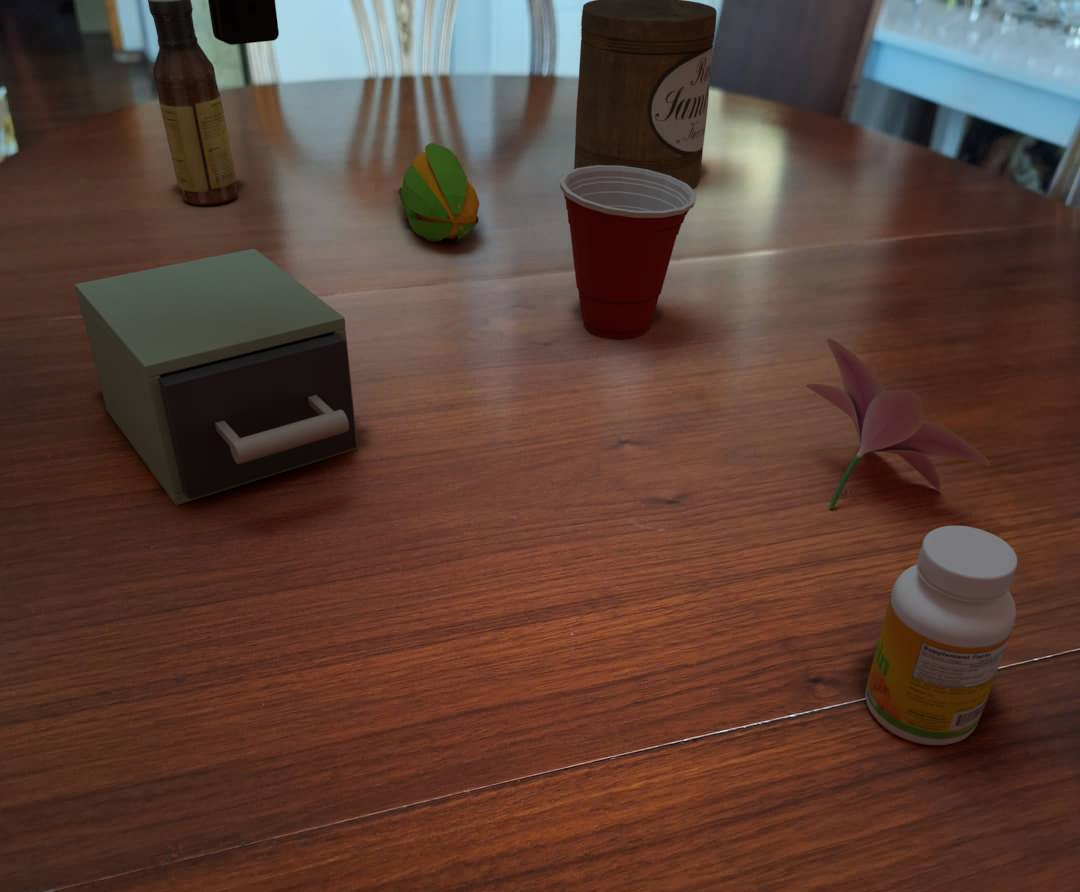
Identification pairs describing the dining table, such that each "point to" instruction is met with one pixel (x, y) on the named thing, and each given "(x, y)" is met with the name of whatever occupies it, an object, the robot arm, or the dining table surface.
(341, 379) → the drawer
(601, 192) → the plastic cup
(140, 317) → the cabinet
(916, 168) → the dining table surface
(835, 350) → the lily
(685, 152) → the wooden container
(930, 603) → the supplement bottle
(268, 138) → the dining table surface
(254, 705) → the dining table surface
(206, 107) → the sauce bottle
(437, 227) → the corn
